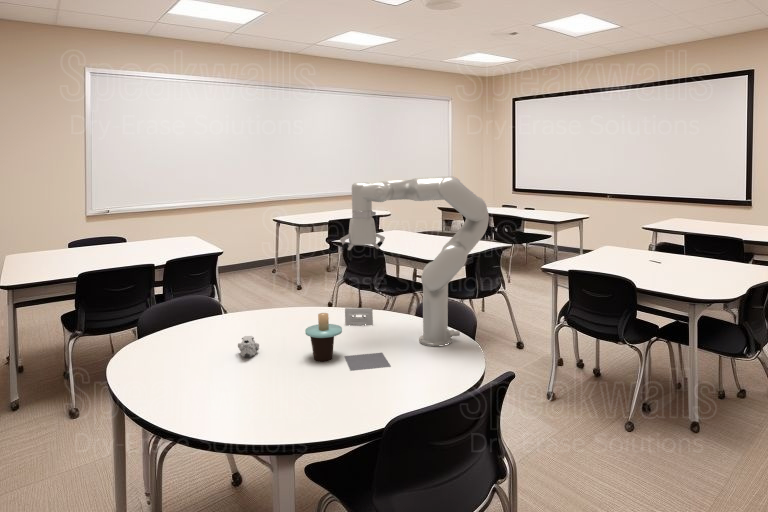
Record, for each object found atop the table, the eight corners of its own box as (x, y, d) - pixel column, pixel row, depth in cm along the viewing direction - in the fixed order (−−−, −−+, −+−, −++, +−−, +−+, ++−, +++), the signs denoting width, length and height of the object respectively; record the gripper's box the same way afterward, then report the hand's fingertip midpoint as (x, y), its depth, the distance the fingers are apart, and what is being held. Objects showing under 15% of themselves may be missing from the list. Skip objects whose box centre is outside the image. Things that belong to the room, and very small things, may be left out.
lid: (339, 325, 194) (339, 308, 193) (344, 336, 182) (344, 317, 181) (304, 328, 191) (303, 310, 190) (306, 339, 179) (306, 320, 178)
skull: (261, 341, 200) (258, 327, 190) (259, 363, 195) (256, 350, 185) (240, 341, 199) (236, 327, 189) (237, 363, 194) (233, 350, 184)
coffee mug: (331, 365, 182) (330, 337, 180) (307, 363, 184) (306, 336, 182) (340, 353, 193) (339, 327, 191) (318, 352, 195) (317, 326, 193)
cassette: (345, 326, 226) (344, 308, 225) (345, 324, 228) (345, 307, 227) (372, 326, 226) (372, 308, 224) (373, 324, 228) (372, 307, 226)
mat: (382, 354, 192) (382, 352, 192) (391, 368, 178) (391, 366, 178) (344, 357, 189) (344, 356, 189) (350, 372, 175) (350, 370, 175)
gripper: (382, 213, 206) (382, 256, 208) (338, 215, 202) (339, 258, 205) (386, 215, 198) (387, 259, 201) (341, 216, 195) (342, 262, 197)
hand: (363, 259), depth 203 cm, fingers open, 9 cm apart
